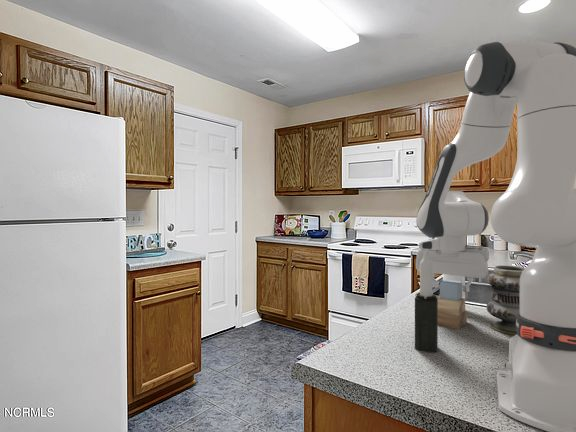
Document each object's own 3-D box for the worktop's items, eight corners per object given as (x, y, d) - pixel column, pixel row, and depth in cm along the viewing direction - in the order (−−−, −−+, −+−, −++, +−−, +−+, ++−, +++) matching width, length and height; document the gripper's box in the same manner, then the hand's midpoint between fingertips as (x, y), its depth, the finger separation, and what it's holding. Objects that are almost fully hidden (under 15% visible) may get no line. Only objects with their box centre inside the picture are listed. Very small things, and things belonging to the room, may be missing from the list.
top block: (458, 315, 102) (458, 302, 102) (434, 311, 106) (434, 298, 106) (465, 310, 107) (465, 297, 107) (441, 306, 112) (441, 294, 111)
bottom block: (458, 330, 101) (459, 316, 101) (431, 324, 107) (431, 311, 107) (466, 323, 107) (466, 310, 107) (439, 317, 113) (439, 305, 113)
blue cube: (457, 301, 103) (457, 284, 103) (439, 298, 106) (439, 282, 106) (462, 297, 107) (462, 281, 106) (445, 295, 110) (445, 279, 110)
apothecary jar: (503, 337, 94) (503, 271, 94) (477, 322, 106) (478, 264, 106) (546, 336, 95) (547, 270, 94) (516, 322, 107) (516, 263, 106)
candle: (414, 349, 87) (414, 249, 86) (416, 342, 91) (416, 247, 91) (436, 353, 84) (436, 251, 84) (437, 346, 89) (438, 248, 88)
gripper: (491, 245, 102) (491, 292, 102) (421, 241, 115) (421, 283, 115) (486, 247, 97) (486, 296, 97) (413, 243, 110) (413, 286, 111)
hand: (450, 289), depth 106 cm, fingers open, 7 cm apart
